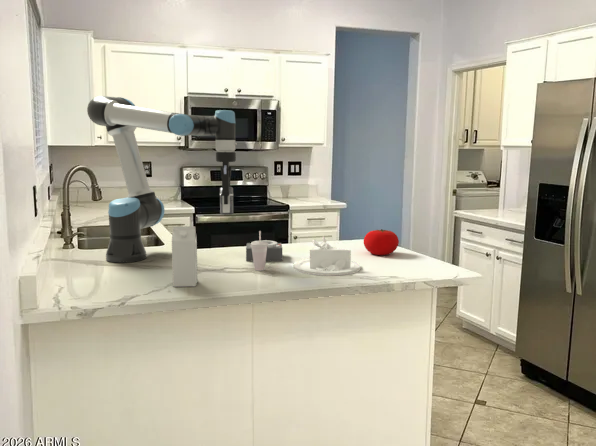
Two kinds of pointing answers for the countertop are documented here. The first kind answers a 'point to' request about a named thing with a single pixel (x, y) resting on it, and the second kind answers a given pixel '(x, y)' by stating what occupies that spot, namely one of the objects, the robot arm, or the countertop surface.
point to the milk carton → (184, 256)
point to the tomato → (381, 242)
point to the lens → (230, 201)
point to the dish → (327, 261)
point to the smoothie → (259, 254)
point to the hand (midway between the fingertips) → (226, 211)
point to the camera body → (272, 251)
